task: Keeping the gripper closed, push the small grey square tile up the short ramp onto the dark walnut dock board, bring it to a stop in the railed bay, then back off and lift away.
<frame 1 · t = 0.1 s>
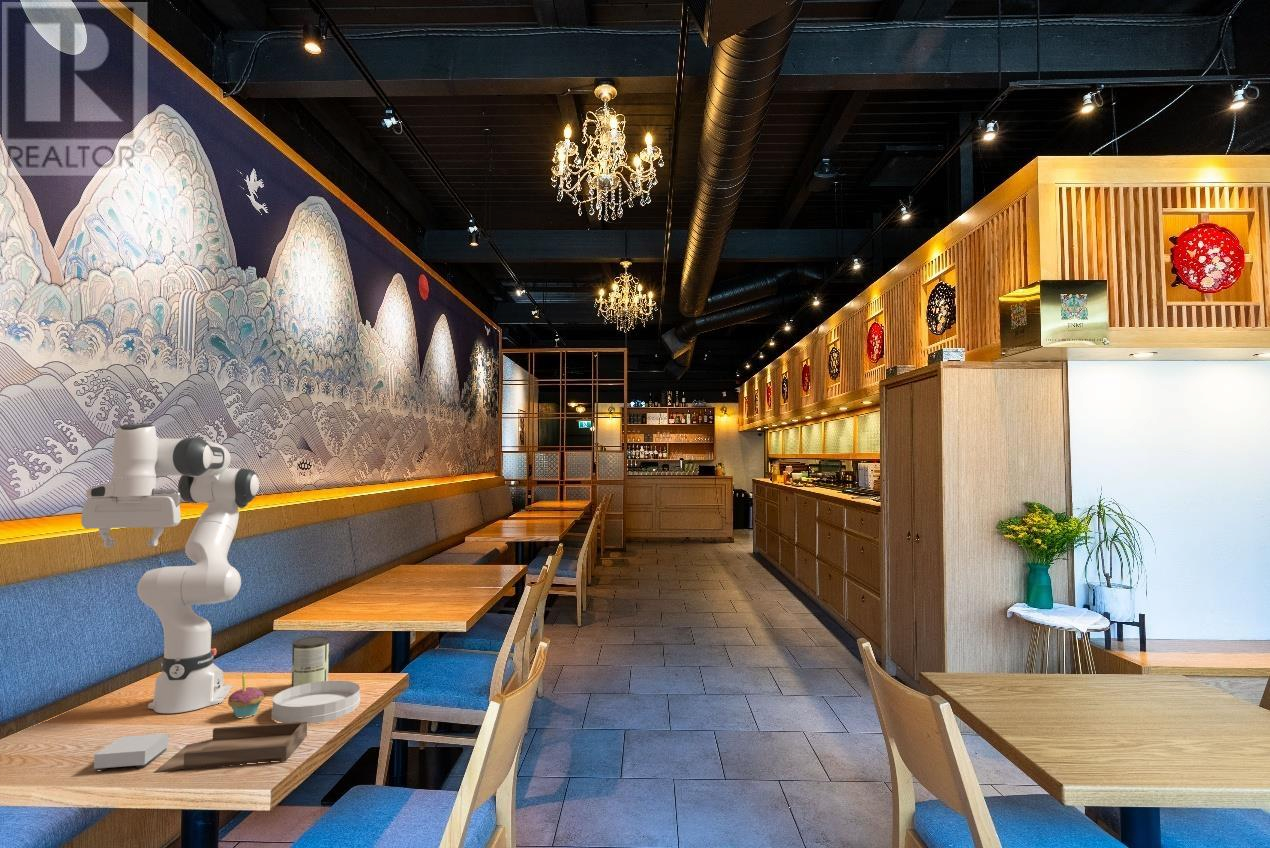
hand: (130, 546, 160), 48 cm above the table, tool pointing down, fingers open, 8 cm apart
cupcake: (245, 716, 178), on the table
dock: (237, 752, 154), on the table
dish: (316, 712, 182), on the table
grey square tile: (132, 761, 150), on the table
coffee can: (309, 687, 202), on the table
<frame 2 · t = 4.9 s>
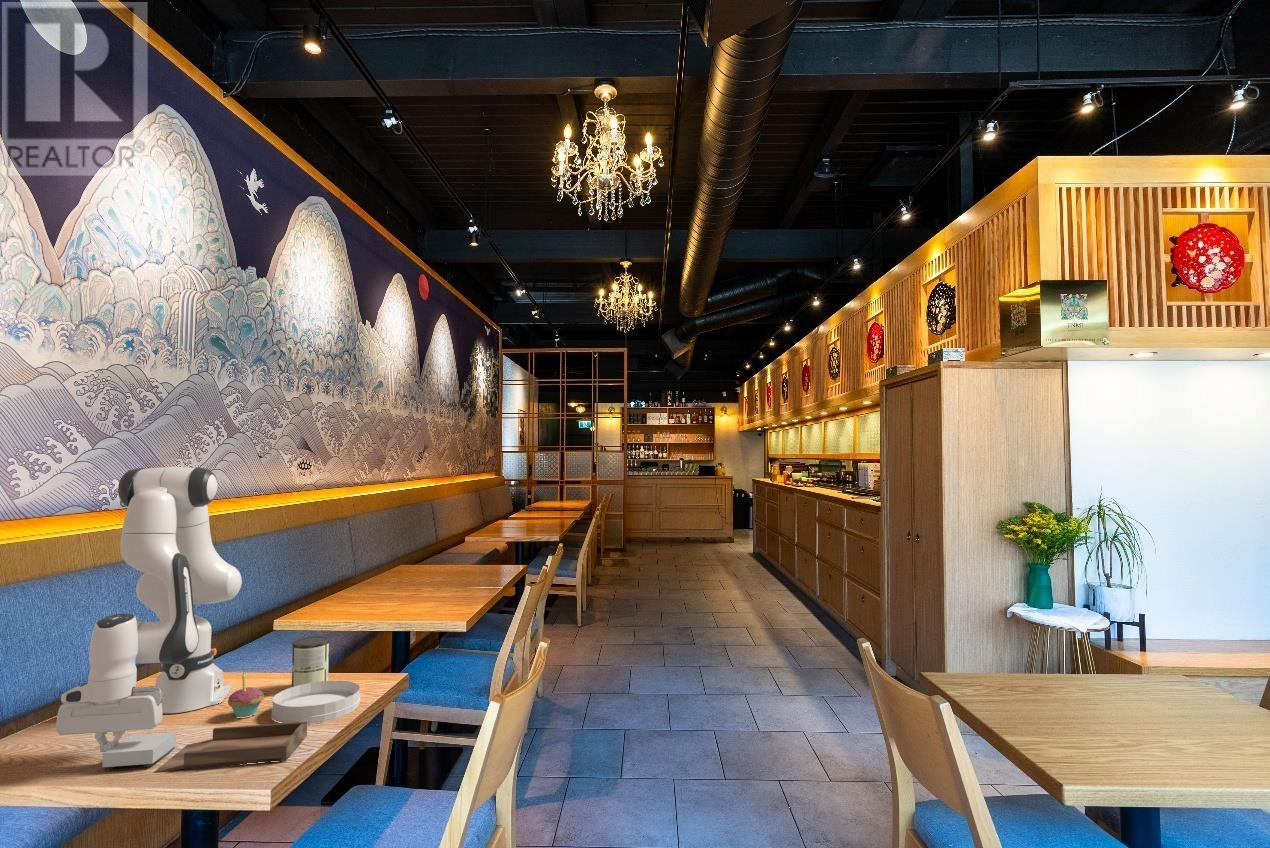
hand: (109, 750, 150), 3 cm above the table, tool pointing down, fingers closed
grey square tile: (140, 760, 150), on the table, touching gripper
everything else where it was.
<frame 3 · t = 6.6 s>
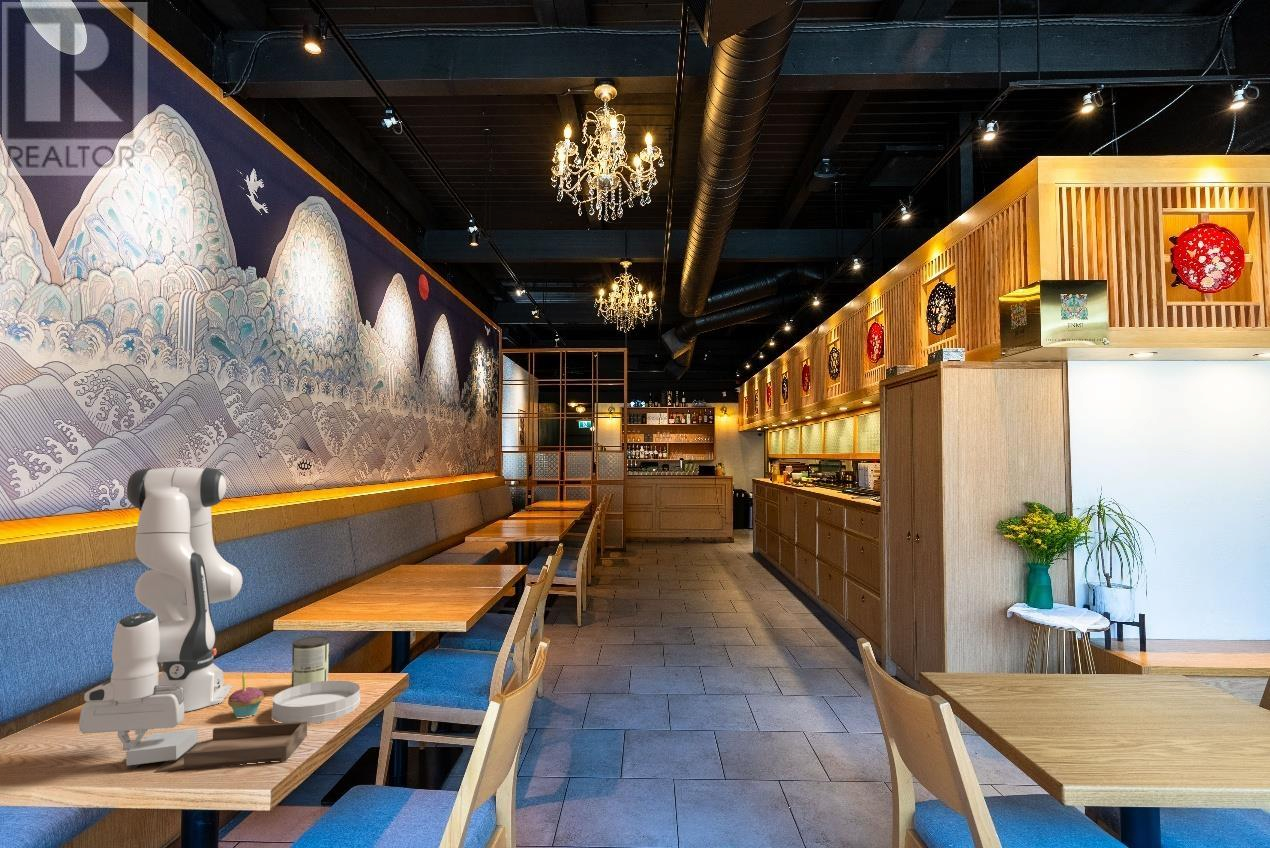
hand: (131, 749, 150), 3 cm above the table, tool pointing down, fingers closed
grey square tile: (163, 757, 151), on the table, touching gripper
everything else where it was.
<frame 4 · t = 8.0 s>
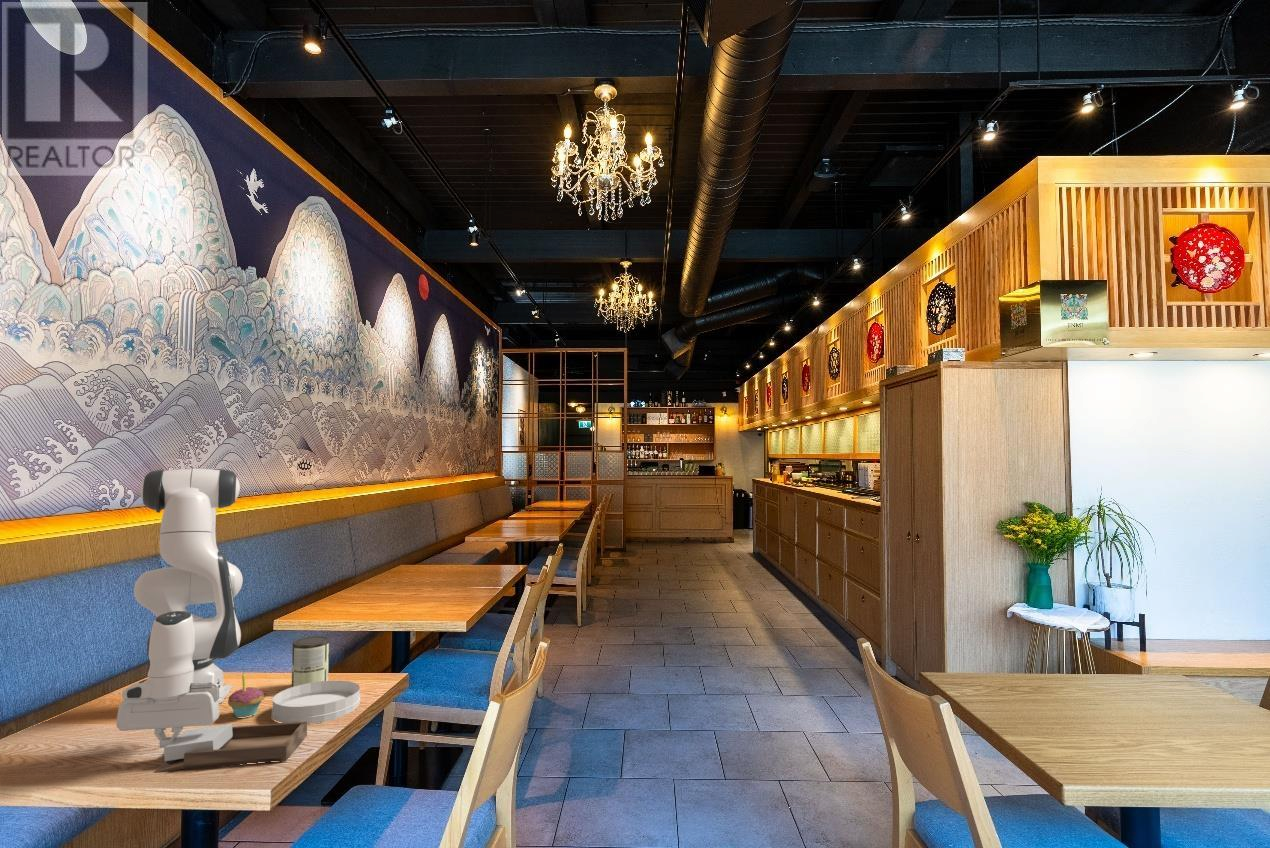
hand: (168, 746, 152), 3 cm above the table, tool pointing down, fingers closed
grey square tile: (200, 752, 153), point 1 cm above the table, touching dock, gripper
everything else where it was.
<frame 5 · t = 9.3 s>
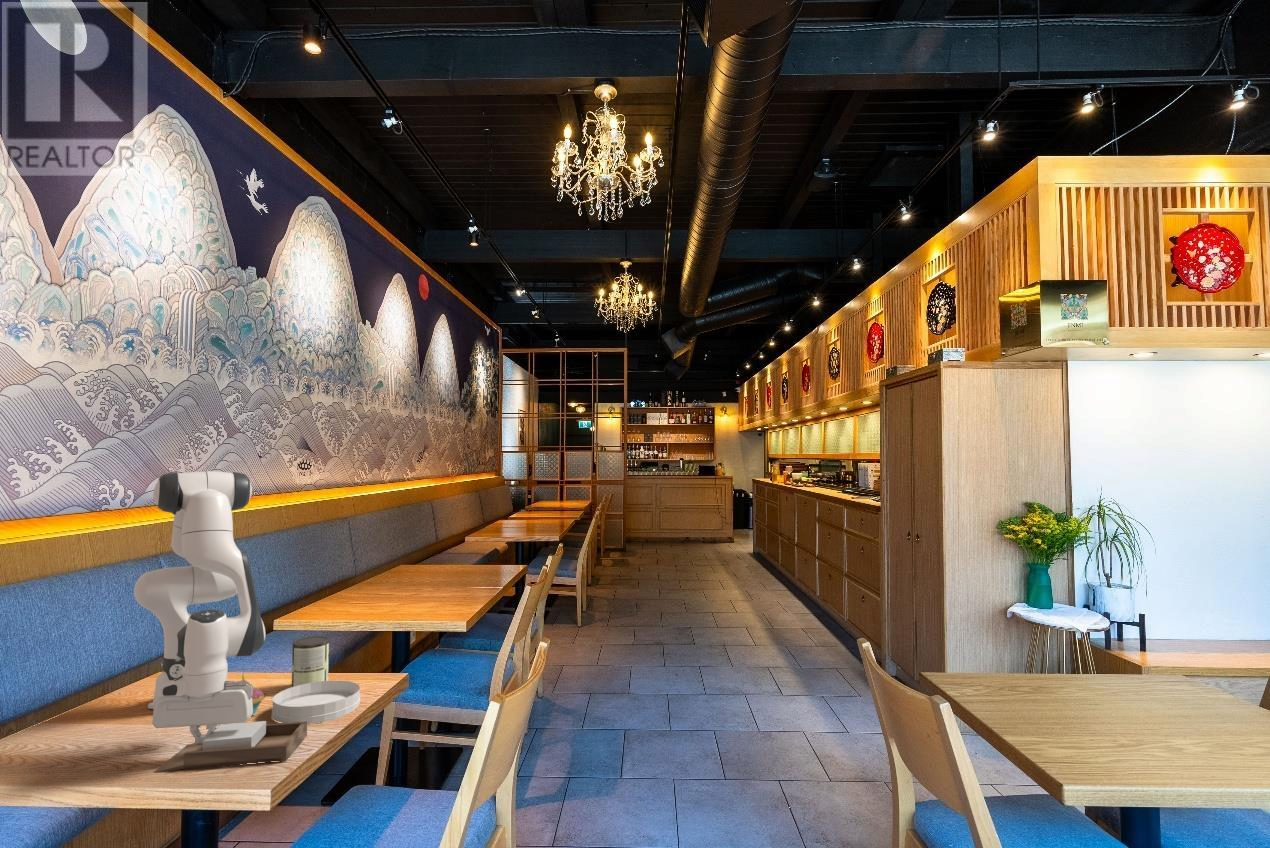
hand: (202, 743, 153), 3 cm above the table, tool pointing down, fingers closed
grey square tile: (235, 748, 154), point 1 cm above the table, touching gripper
everything else where it was.
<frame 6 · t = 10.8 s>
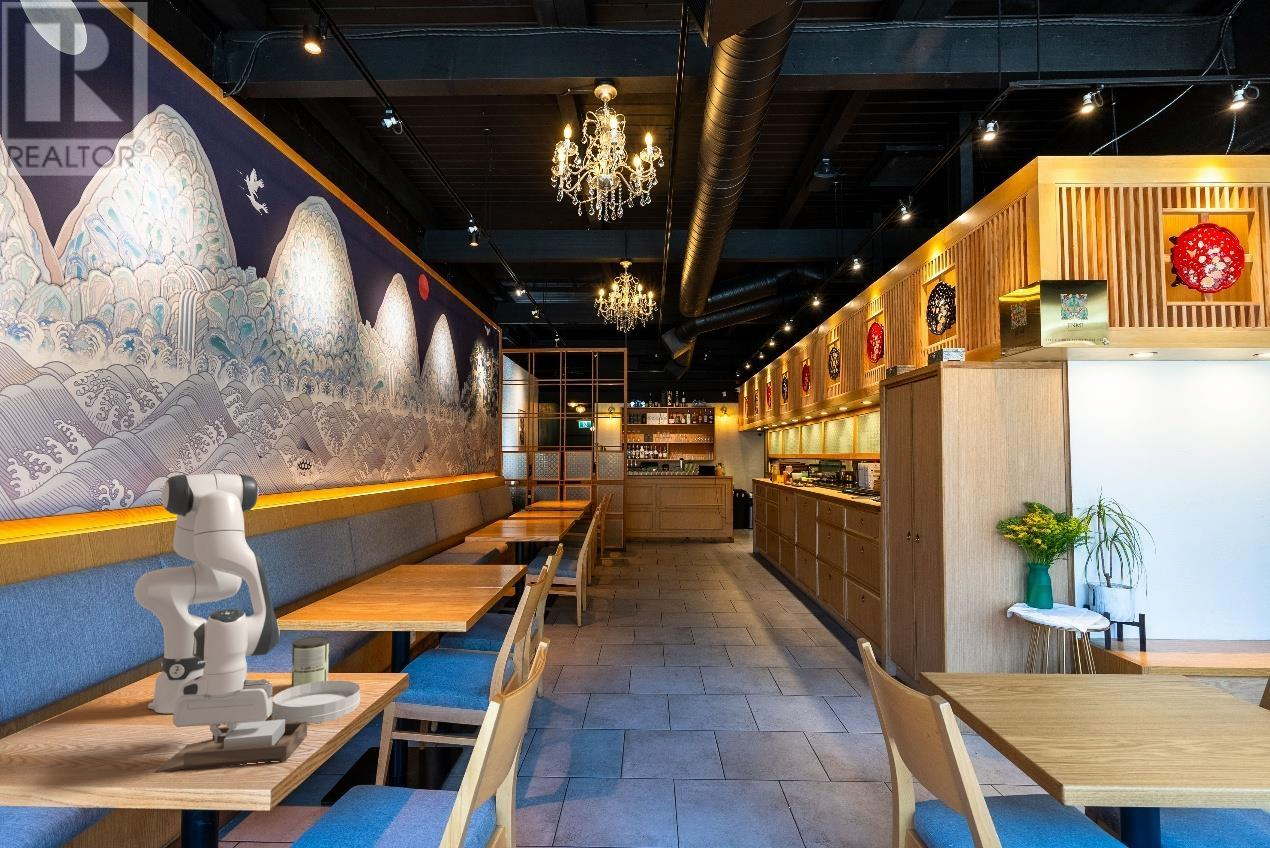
hand: (222, 742, 154), 3 cm above the table, tool pointing down, fingers closed
grey square tile: (255, 746, 155), point 1 cm above the table, touching dock, gripper
everything else where it was.
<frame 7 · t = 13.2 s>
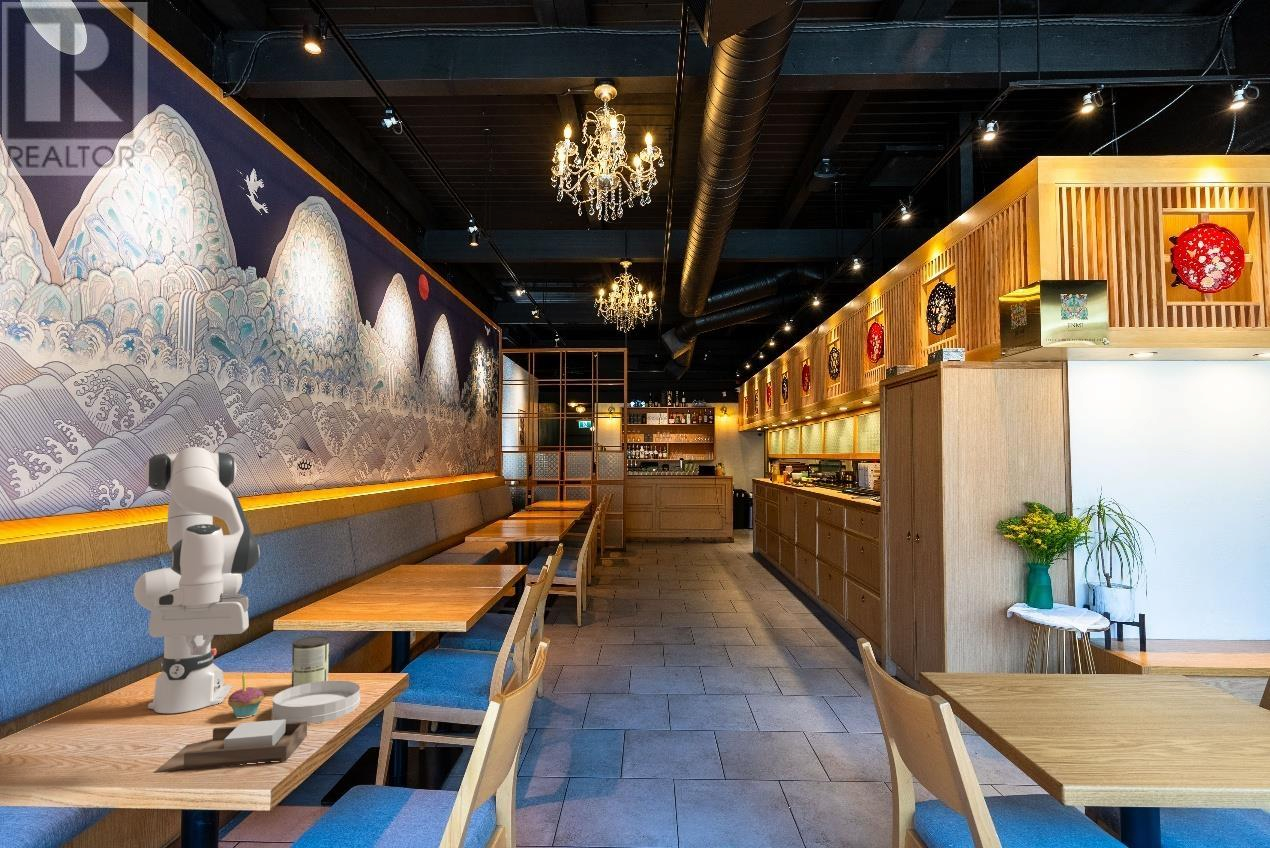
hand: (198, 654, 154), 23 cm above the table, tool pointing down, fingers closed
grey square tile: (255, 746, 155), point 1 cm above the table, touching dock
everything else where it was.
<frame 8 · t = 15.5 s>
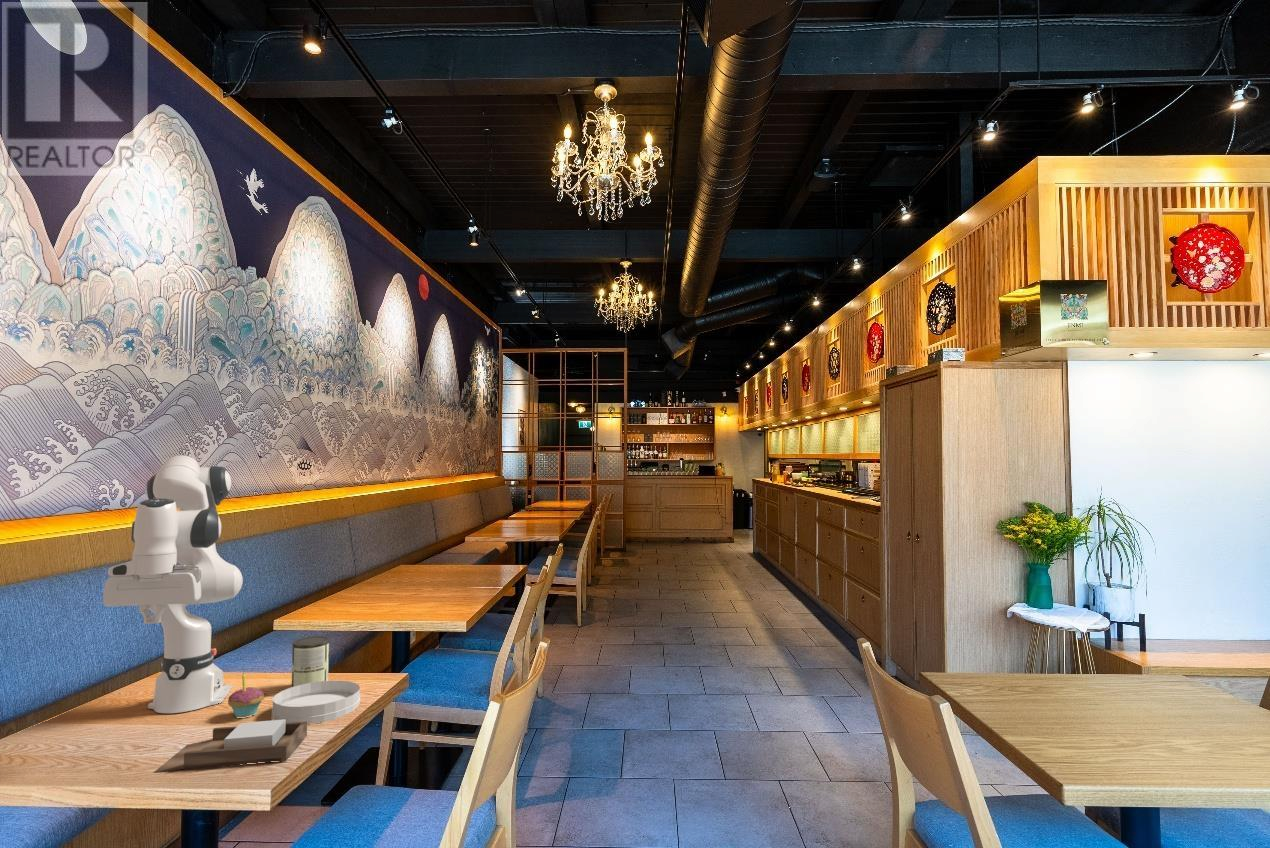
hand: (152, 623, 160), 29 cm above the table, tool pointing down, fingers closed
nothing on the table moved.
at the end: grey square tile inside the target area (0.9 cm from its centre), point 1.0 cm above the table; grey square tile tilted 0°; grey square tile touching dock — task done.
